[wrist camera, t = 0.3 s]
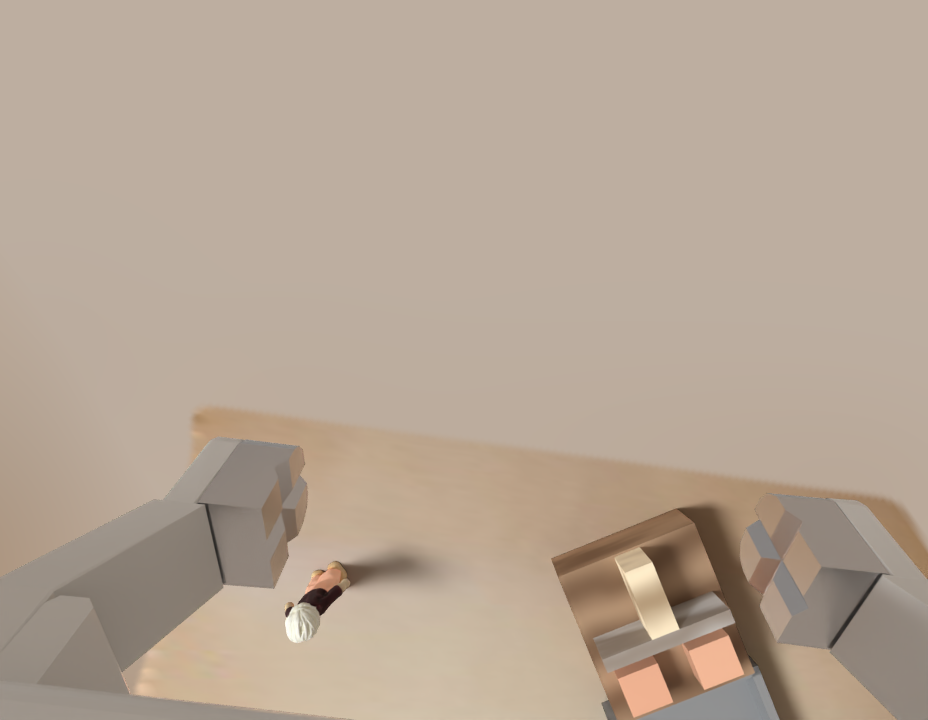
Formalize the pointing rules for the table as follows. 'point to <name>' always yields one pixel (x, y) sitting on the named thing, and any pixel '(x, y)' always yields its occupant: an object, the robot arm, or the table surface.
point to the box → (720, 703)
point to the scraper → (656, 616)
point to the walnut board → (610, 606)
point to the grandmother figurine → (315, 602)
